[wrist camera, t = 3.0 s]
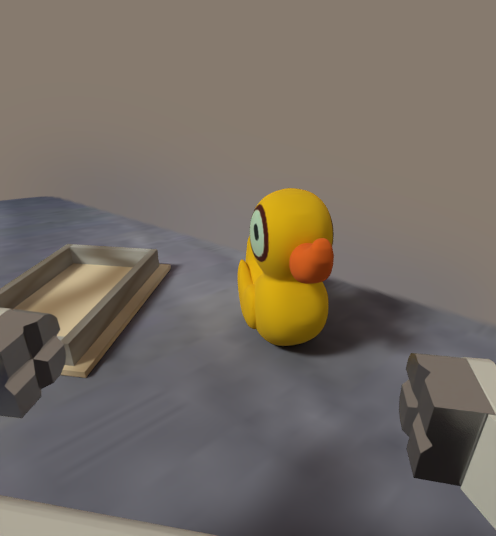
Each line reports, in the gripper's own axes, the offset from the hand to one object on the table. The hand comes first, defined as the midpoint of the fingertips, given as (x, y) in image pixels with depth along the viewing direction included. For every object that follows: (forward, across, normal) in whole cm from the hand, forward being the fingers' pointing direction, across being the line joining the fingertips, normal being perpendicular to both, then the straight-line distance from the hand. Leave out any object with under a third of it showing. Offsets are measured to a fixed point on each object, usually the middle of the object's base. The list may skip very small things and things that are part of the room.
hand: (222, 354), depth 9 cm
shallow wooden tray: (+16, +16, +10) cm, 24 cm away
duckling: (+15, 0, +10) cm, 18 cm away
